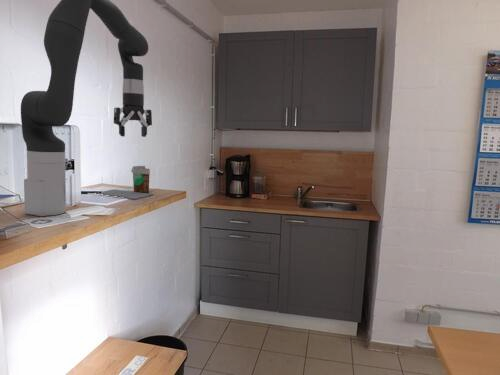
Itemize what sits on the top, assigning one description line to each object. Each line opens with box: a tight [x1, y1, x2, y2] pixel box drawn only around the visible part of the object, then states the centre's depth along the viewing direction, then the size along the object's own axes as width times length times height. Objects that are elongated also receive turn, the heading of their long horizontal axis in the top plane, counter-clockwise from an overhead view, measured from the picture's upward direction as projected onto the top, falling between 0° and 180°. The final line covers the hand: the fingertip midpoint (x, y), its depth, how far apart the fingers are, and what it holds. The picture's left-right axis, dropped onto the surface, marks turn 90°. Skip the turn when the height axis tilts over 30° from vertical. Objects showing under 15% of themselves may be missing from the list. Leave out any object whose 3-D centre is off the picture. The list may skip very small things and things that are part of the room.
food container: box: [131, 165, 151, 194], centre depth 143 cm, size 12×6×10 cm, turn 25°
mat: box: [95, 188, 154, 201], centre depth 135 cm, size 12×18×1 cm, turn 72°
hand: (133, 136), depth 136 cm, fingers open, 8 cm apart
